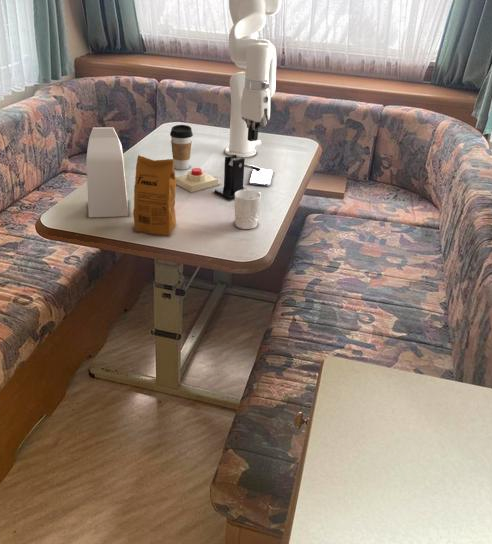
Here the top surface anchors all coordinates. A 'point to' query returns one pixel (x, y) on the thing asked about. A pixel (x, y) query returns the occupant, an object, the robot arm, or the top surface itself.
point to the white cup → (247, 208)
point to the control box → (196, 181)
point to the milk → (106, 174)
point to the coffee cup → (181, 146)
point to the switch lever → (245, 165)
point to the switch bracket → (232, 178)
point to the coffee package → (154, 196)
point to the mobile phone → (261, 177)
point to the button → (196, 171)
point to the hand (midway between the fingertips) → (252, 140)
